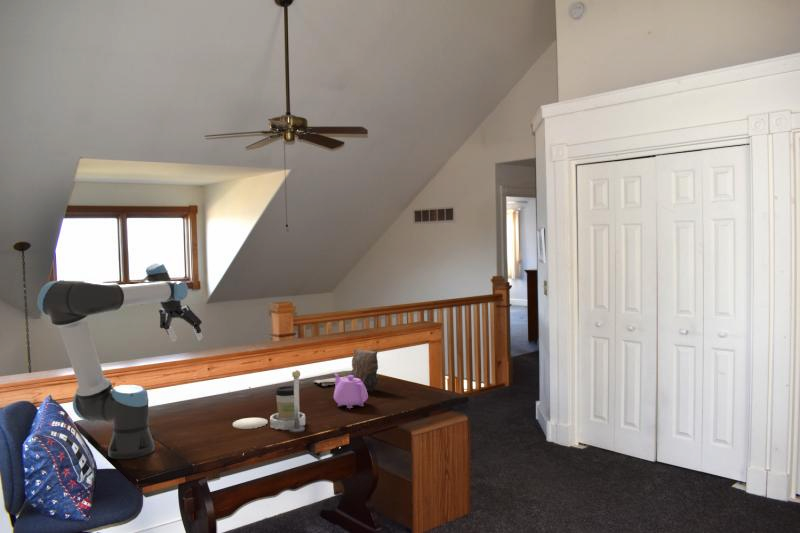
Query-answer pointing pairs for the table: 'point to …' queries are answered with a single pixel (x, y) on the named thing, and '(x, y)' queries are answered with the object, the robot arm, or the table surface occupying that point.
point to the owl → (365, 367)
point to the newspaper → (328, 381)
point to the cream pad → (250, 423)
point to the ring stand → (299, 417)
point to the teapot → (350, 391)
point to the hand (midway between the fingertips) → (187, 339)
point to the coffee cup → (285, 402)
